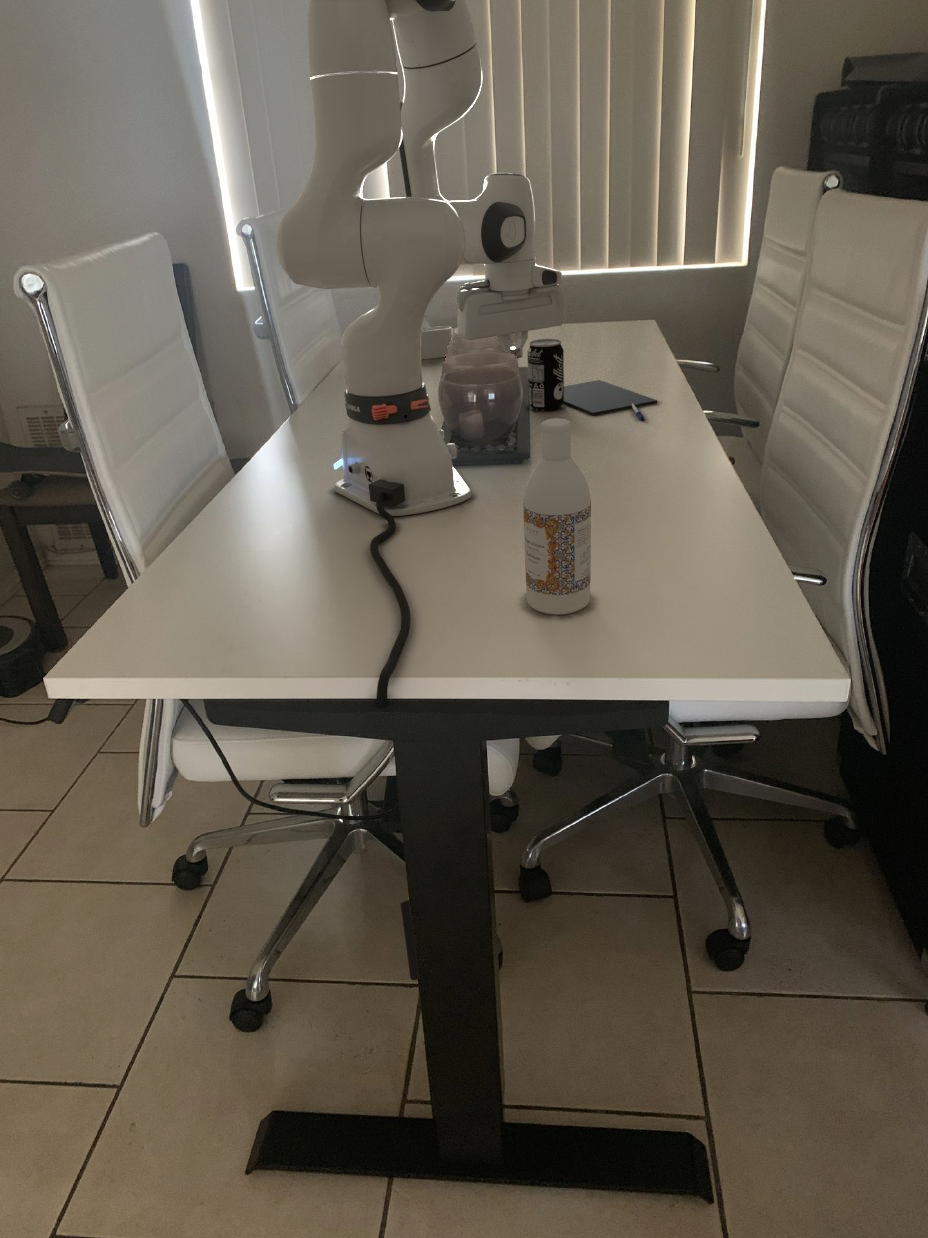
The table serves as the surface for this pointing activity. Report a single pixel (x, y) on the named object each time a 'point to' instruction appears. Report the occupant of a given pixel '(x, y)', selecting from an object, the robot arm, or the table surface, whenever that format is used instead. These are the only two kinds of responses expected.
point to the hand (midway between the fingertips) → (513, 358)
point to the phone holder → (434, 340)
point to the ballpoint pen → (637, 412)
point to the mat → (602, 397)
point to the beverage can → (546, 374)
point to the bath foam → (557, 527)
